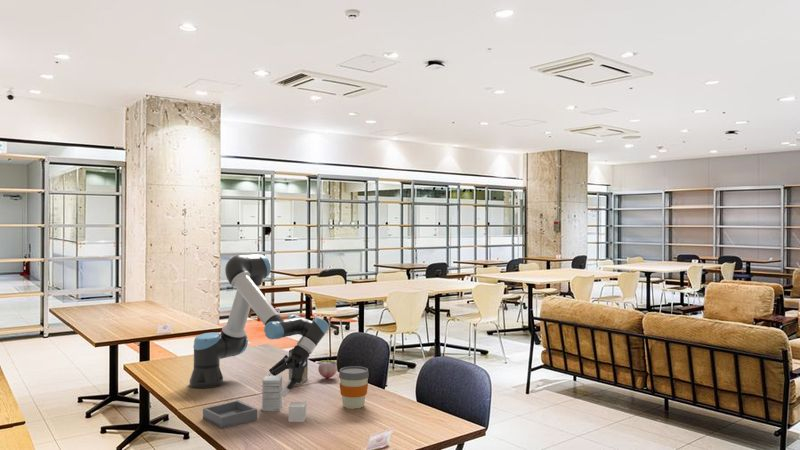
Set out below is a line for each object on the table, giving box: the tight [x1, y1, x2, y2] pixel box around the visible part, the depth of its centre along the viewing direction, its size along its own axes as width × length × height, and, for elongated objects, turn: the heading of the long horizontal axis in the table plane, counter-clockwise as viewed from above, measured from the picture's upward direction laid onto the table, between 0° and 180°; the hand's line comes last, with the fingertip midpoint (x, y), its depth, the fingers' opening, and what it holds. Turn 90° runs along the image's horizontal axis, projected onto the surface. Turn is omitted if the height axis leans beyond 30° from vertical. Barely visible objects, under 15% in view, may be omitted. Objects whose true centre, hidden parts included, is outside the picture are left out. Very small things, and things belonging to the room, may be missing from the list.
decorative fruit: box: [318, 358, 338, 380], centre depth 283 cm, size 9×8×10 cm
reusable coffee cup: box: [338, 365, 370, 410], centre depth 241 cm, size 12×13×15 cm
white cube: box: [288, 401, 307, 423], centre depth 223 cm, size 6×6×6 cm
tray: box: [202, 400, 258, 429], centre depth 223 cm, size 15×15×4 cm
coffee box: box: [288, 348, 309, 385], centre depth 276 cm, size 9×6×16 cm
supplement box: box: [261, 375, 283, 412], centre depth 236 cm, size 7×7×13 cm
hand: (272, 391), depth 236 cm, fingers open, 13 cm apart
